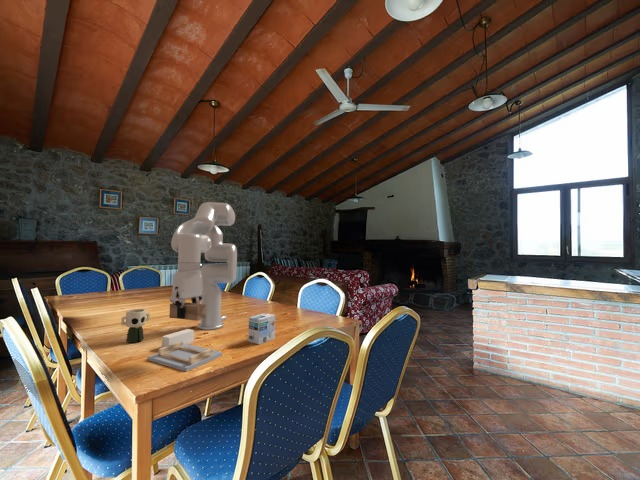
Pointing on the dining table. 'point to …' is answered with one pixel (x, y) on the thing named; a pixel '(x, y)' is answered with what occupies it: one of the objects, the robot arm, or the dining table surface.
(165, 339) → the plank
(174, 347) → the cradle
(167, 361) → the jig board
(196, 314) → the brown rectangular block
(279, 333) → the dining table surface
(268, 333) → the light bulb box
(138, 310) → the character mug
